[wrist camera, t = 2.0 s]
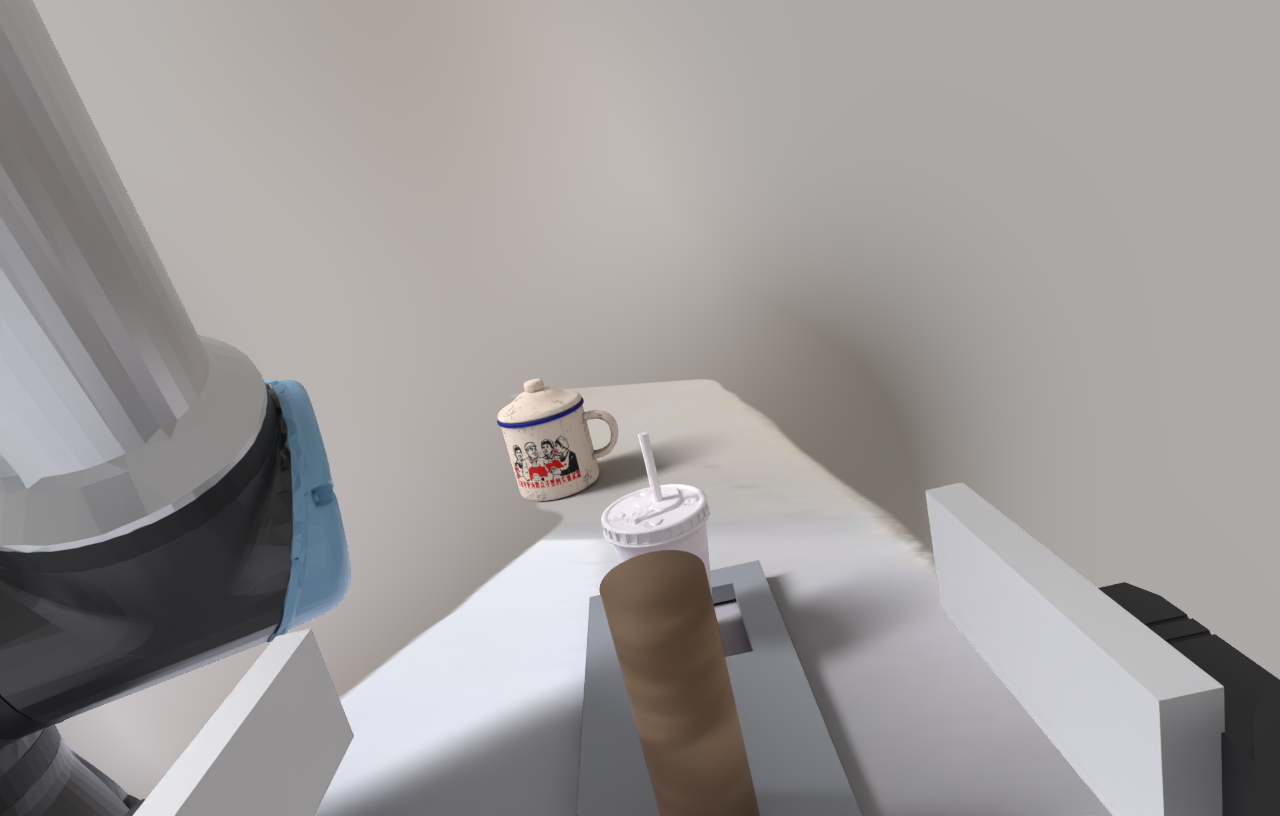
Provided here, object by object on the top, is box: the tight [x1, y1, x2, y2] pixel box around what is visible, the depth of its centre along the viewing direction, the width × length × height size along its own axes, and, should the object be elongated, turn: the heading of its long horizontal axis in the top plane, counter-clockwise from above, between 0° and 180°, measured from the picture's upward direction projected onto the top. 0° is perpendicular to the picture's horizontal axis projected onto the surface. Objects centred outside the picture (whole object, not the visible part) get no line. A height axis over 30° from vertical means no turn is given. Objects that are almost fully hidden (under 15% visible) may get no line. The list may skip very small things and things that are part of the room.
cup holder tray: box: [576, 550, 862, 816], centre depth 37 cm, size 12×24×13 cm, turn 2°
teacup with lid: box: [497, 379, 618, 501], centre depth 75 cm, size 12×9×12 cm
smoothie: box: [601, 432, 712, 596], centre depth 43 cm, size 6×6×14 cm
